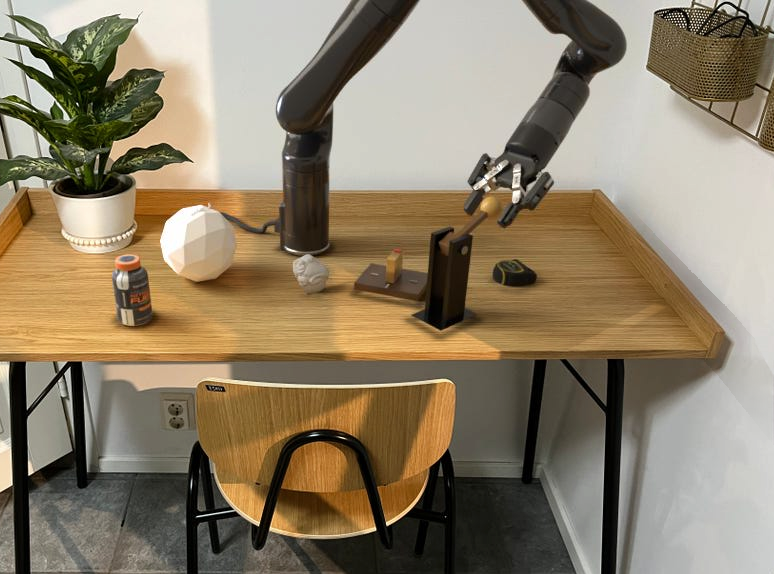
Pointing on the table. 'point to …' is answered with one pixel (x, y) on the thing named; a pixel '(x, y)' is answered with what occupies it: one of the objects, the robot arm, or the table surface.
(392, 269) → the tan wooden block
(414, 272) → the lock plate
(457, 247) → the bracket
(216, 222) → the geodesic sphere
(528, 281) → the tape measure
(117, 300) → the pill bottle
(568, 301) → the table surface
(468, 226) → the latch lever
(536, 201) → the robot arm
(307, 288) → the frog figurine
